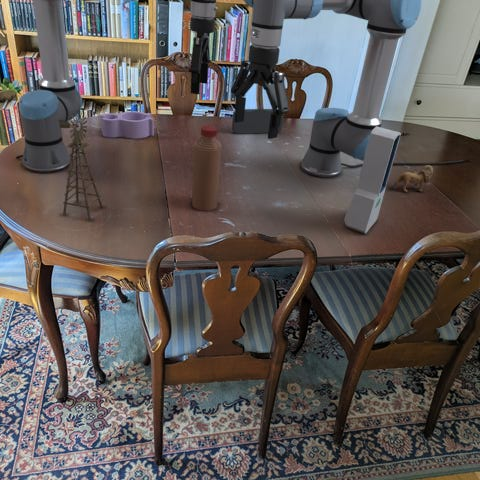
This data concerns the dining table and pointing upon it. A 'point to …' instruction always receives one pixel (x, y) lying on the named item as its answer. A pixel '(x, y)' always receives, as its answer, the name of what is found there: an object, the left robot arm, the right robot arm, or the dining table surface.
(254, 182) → the dining table surface
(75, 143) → the miniature windmill
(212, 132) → the cap
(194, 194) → the bottle
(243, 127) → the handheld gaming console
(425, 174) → the lion figurine
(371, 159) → the electronic device
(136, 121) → the clip
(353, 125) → the right robot arm
